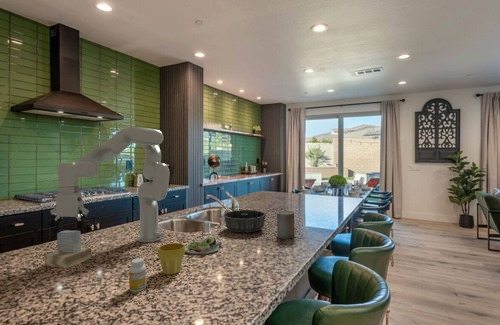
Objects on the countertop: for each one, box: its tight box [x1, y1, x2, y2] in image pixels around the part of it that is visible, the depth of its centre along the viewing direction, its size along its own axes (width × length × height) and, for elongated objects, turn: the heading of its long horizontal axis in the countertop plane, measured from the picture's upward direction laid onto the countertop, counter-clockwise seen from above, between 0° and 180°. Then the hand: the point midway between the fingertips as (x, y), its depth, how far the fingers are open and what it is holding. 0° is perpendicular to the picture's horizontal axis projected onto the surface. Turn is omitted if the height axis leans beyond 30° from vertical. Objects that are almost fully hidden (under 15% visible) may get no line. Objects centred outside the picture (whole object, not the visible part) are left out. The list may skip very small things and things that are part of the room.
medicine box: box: [56, 230, 82, 253], centre depth 121 cm, size 8×4×9 cm, turn 83°
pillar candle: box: [276, 210, 296, 240], centre depth 156 cm, size 10×10×15 cm
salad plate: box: [185, 236, 223, 256], centre depth 135 cm, size 19×18×5 cm
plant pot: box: [157, 242, 186, 275], centre depth 109 cm, size 10×10×10 cm
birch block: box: [44, 247, 92, 269], centre depth 121 cm, size 12×12×5 cm
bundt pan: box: [223, 209, 267, 234], centre depth 173 cm, size 26×26×10 cm
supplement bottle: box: [128, 257, 147, 293], centre depth 95 cm, size 5×5×10 cm
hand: (70, 229), depth 121 cm, fingers open, 9 cm apart
